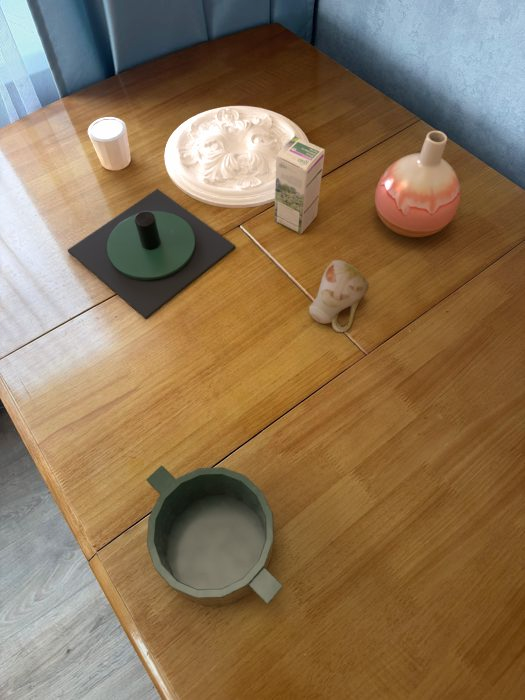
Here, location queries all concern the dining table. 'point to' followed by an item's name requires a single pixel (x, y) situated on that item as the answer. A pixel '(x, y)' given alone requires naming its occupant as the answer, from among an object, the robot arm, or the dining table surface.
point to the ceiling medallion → (229, 155)
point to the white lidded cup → (110, 142)
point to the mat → (155, 291)
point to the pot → (212, 536)
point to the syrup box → (298, 184)
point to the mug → (338, 294)
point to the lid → (151, 245)
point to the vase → (419, 191)
